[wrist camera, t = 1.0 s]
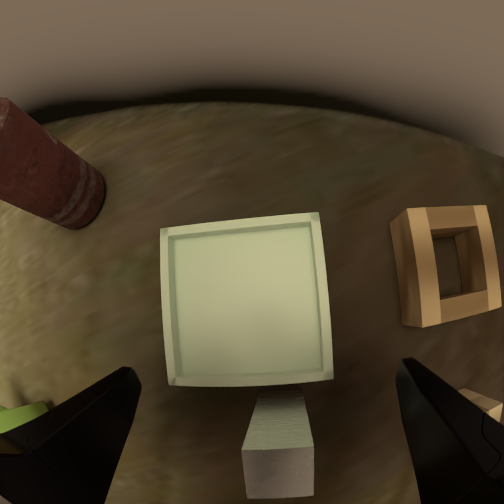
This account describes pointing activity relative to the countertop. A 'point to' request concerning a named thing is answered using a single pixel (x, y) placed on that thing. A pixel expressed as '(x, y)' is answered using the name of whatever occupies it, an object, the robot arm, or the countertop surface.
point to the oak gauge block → (424, 266)
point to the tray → (246, 302)
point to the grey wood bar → (279, 447)
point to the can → (45, 172)
